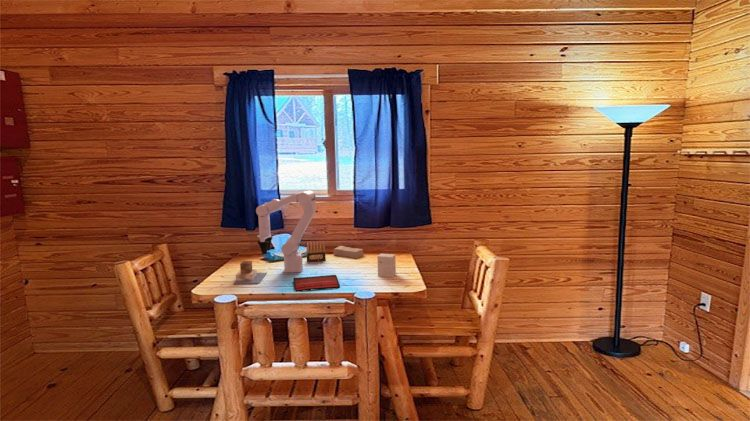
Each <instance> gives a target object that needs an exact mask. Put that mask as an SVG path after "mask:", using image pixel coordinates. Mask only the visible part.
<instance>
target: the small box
mask: <svg viewBox="0 0 750 421" xmlns="http://www.w3.org/2000/svg"><path fill="white" fill-rule="evenodd" d="M396 266H397V264H396V254H392V253H379V254H378V255H377V276H378V277H383V278H394V277H395V275H396V272H397V269H396V268H397V267H396Z"/></svg>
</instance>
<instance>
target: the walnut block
mask: <svg viewBox="0 0 750 421" xmlns="http://www.w3.org/2000/svg"><path fill="white" fill-rule="evenodd" d="M239 266H240V270H241V274H243V273H251V272H252V270H253V261H252V260H243V261H241V262H240V263H239ZM240 270H239V271H240Z"/></svg>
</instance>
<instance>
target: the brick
mask: <svg viewBox="0 0 750 421" xmlns="http://www.w3.org/2000/svg"><path fill="white" fill-rule="evenodd" d="M333 255H334V256H337V257H342V256H343V258H351V259H359V258H361V257H364V249H363V248H355V247H354V248H352V247H348V246H344V245H339V246H337V247H335V248H333Z"/></svg>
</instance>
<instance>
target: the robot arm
mask: <svg viewBox="0 0 750 421" xmlns="http://www.w3.org/2000/svg"><path fill="white" fill-rule="evenodd" d="M316 201H317V197H316V194H315V193H314V191H312V190H305V191H301V192H297V193H293V194H292V195H289V196H286V197H285V198H282V199H278V198H272V199H271V201H269V202H264V203H263V204H260V205H259V206H257V207H256V209H255V213H256V215H257V217H258V232H259V234H258V235H257V236H256V237H257V238H259V240H258V241H257V244H258V246H259V248H260V251H261V254H262V255H267V254H268V253H267V252H268V251H270V249H271V245H272V244H271V243H272V240H273V236H272V234H271V218H270V217H271V216H270V215H271V214H272V213H274V212H278V211H280V210H281V209H282V208H283V206H286V205H289V204H291V203H293V202H295V203H298V204H299V205H300V207H301V208H303V213H302V215H301V217H300V219H299V221H298V223H297V225H296V227H295V228H294V230H293V232H292V234H291V236H290V237H289V238H288V239H286V240H287V241H286V242H285V243H284V244H282V246H281V248H280V249H281V250H280V251H281V253H283V264H284V265H283V266H284V267H283V268H284V269H283V270H282V273H287V274H289V273H302V271H303V269H304V266H303V255H302V254H301V253H298V250H299V249H300V243H301V239H302V238H303V236H304V234H305V231H306V230H307V228H308V227H309V224H310V223H311V222H312V219H313V217H314V216H315V214H316V212H317V211H316V210H317V209H316V208H317V206H316V204H317V203H316Z"/></svg>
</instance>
